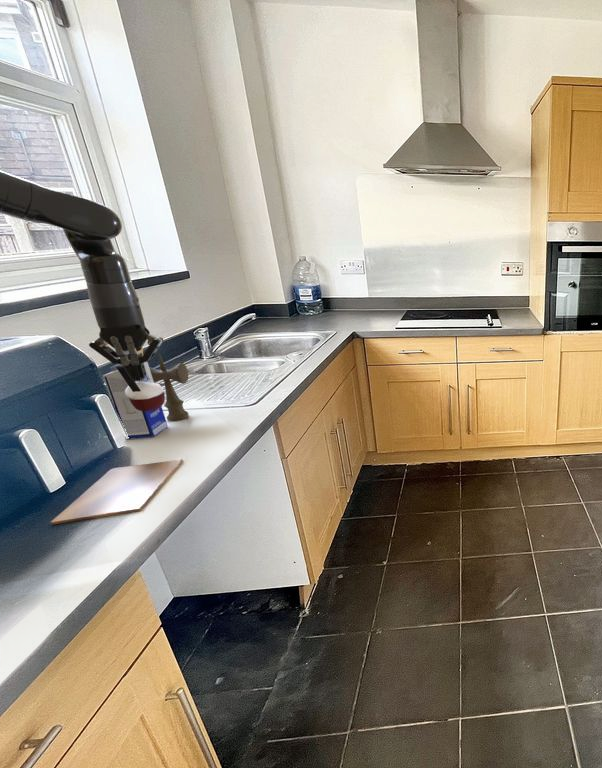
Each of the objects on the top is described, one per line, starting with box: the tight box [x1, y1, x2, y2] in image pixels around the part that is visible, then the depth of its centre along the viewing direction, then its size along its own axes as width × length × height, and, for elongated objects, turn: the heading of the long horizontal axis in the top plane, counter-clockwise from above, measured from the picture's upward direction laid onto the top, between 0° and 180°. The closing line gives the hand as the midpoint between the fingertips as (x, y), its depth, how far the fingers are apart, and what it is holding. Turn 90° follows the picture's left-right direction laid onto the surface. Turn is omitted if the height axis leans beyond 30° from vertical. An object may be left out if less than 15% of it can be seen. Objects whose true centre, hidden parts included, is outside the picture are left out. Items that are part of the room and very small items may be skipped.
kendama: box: [149, 353, 189, 421], centre depth 120 cm, size 6×10×20 cm, turn 107°
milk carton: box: [102, 361, 169, 440], centre depth 111 cm, size 7×7×20 cm
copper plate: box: [50, 459, 184, 526], centre depth 89 cm, size 14×20×1 cm
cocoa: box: [116, 366, 166, 412], centre depth 94 cm, size 10×6×12 cm, turn 168°
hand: (138, 380), depth 95 cm, fingers closed
